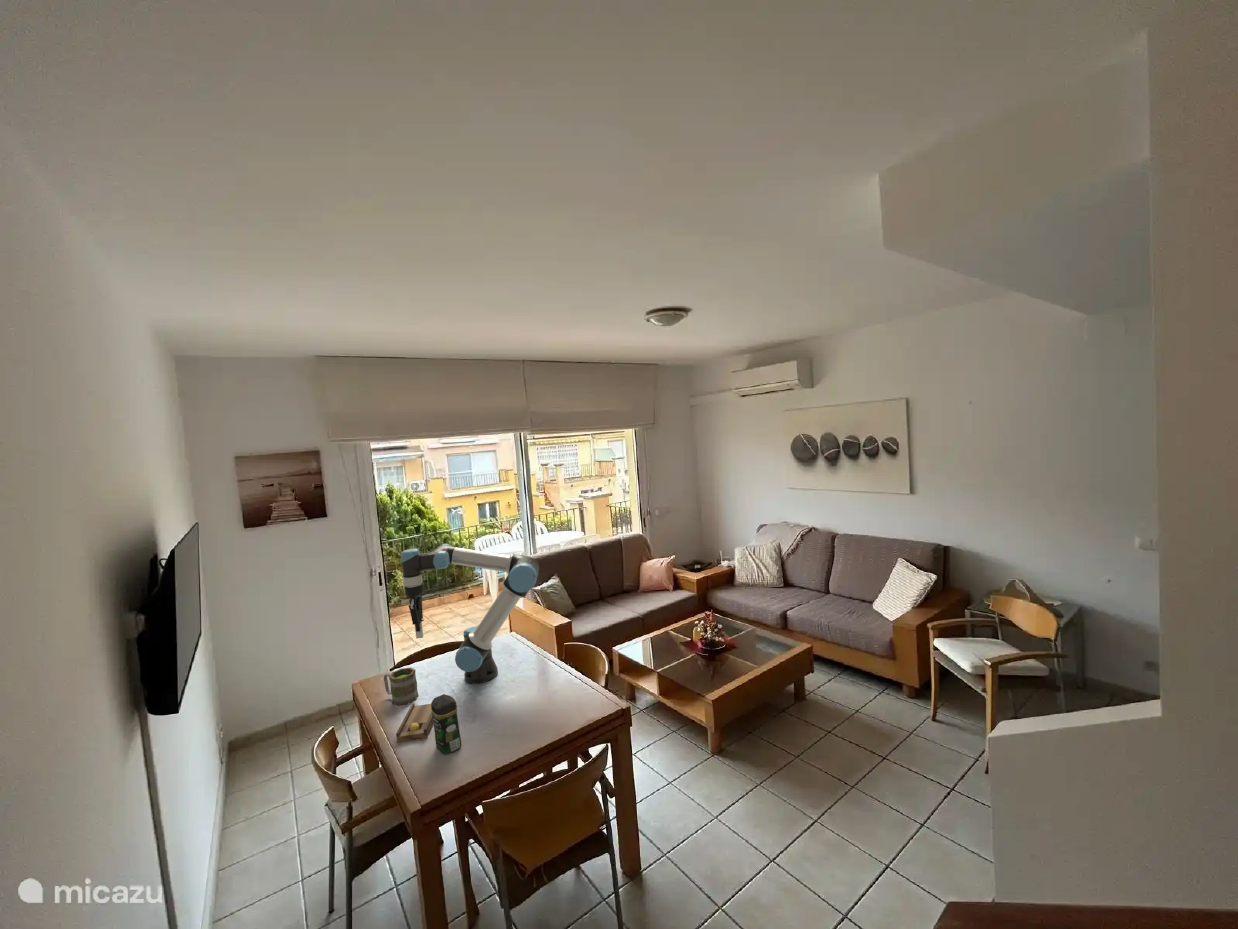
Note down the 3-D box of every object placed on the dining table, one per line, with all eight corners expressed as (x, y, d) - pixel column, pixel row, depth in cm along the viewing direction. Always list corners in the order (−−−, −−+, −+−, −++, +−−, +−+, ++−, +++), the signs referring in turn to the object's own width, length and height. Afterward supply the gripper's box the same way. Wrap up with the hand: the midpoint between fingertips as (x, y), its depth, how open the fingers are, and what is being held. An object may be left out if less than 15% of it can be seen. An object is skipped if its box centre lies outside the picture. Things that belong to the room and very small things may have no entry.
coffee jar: (433, 747, 192) (427, 698, 190) (453, 737, 197) (448, 689, 195) (443, 758, 184) (437, 707, 183) (464, 748, 189) (458, 698, 188)
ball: (420, 729, 204) (419, 720, 204) (418, 734, 201) (417, 725, 201) (411, 730, 204) (410, 721, 204) (408, 735, 200) (407, 726, 200)
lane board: (440, 708, 219) (439, 699, 219) (427, 738, 197) (426, 729, 197) (413, 711, 218) (412, 703, 218) (397, 743, 196) (395, 734, 196)
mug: (424, 694, 232) (420, 668, 232) (406, 707, 222) (403, 680, 221) (395, 691, 238) (392, 665, 237) (377, 704, 227) (374, 677, 227)
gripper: (408, 581, 233) (415, 633, 235) (400, 590, 221) (406, 644, 222) (426, 579, 234) (432, 630, 236) (418, 588, 221) (425, 642, 223)
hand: (419, 637), depth 229 cm, fingers closed
